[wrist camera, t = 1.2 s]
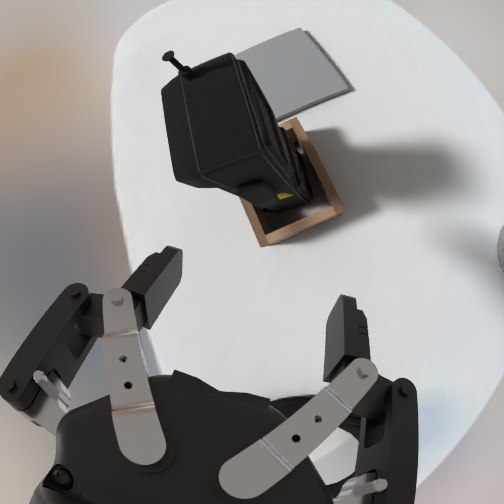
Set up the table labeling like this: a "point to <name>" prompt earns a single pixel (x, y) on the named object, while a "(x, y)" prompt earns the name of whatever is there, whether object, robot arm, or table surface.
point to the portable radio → (231, 136)
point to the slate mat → (292, 73)
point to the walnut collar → (335, 209)
